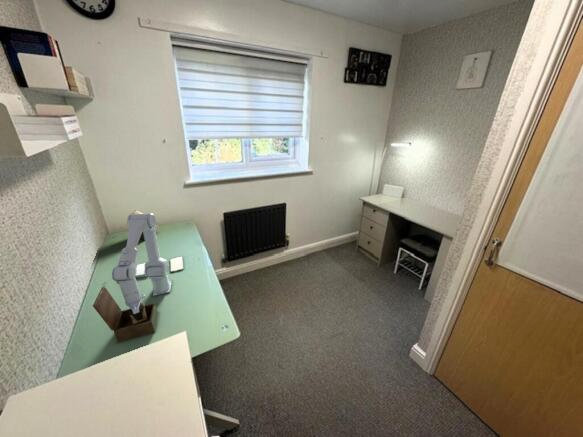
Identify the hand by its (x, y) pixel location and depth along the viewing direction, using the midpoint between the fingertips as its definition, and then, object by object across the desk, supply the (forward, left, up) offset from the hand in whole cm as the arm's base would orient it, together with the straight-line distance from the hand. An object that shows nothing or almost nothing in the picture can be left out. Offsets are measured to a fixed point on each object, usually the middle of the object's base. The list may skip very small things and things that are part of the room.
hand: (139, 315), depth 102 cm
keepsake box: (+1, -1, -5) cm, 5 cm away
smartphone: (-44, +12, -5) cm, 46 cm away
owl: (-93, -10, -6) cm, 94 cm away
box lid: (+1, -9, +8) cm, 12 cm away
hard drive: (-44, -6, -6) cm, 45 cm away
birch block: (0, 0, -1) cm, 1 cm away
